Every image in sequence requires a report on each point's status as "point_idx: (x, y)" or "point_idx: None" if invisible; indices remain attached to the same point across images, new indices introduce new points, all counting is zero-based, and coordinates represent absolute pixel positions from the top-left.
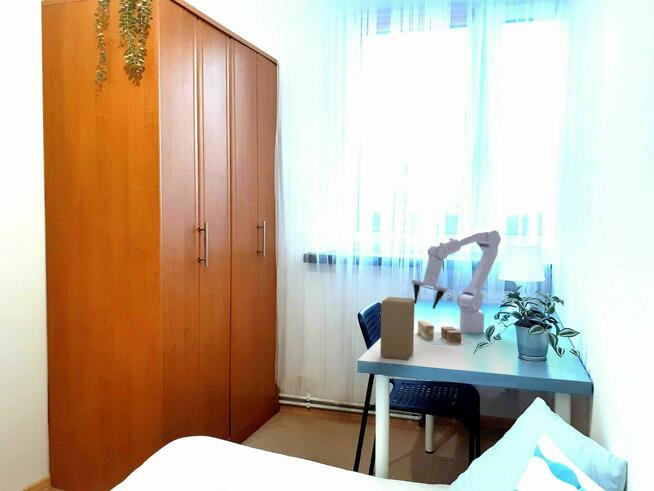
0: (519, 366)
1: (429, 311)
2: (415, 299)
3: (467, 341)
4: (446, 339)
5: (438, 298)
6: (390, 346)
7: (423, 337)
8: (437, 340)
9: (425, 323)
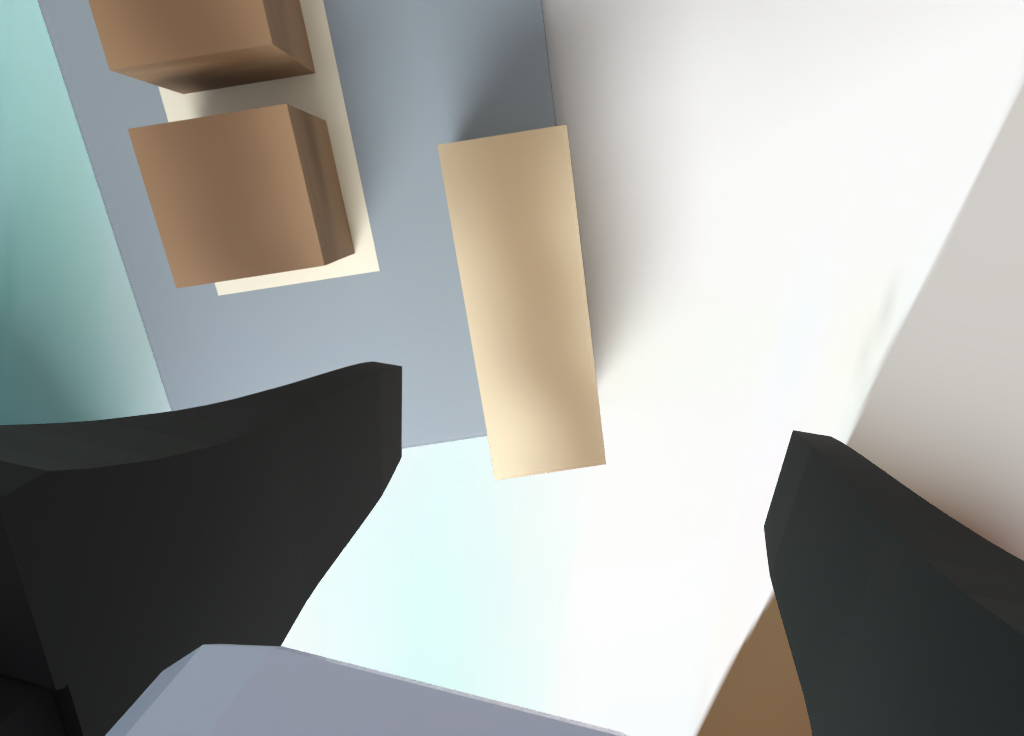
0: None
1: None
2: (875, 468)
3: (61, 17)
4: (308, 52)
5: (180, 424)
6: None
7: None
8: (418, 45)
9: (534, 307)
